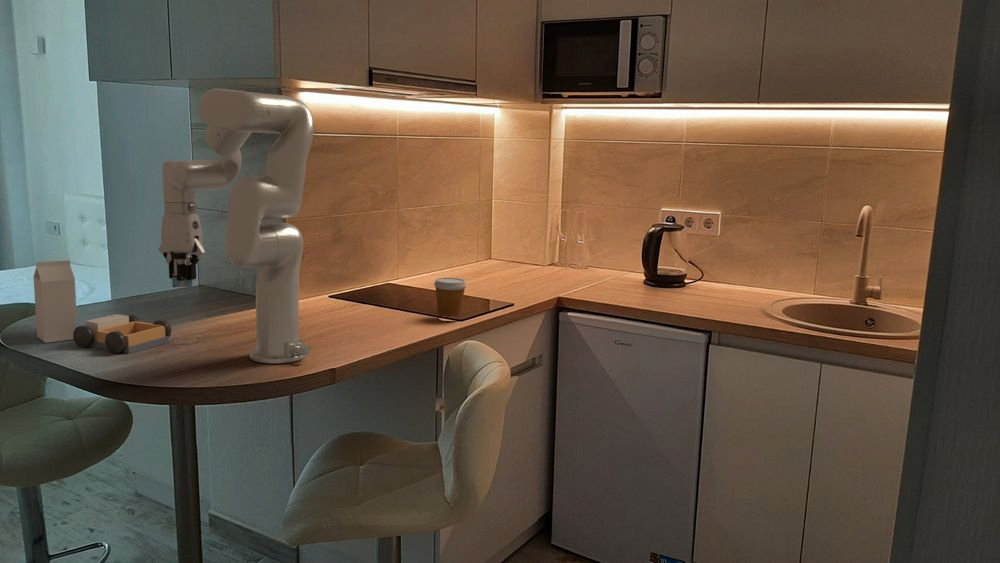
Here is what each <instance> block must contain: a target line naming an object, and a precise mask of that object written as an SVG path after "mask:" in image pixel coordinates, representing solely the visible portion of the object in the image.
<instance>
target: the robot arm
mask: <svg viewBox="0 0 1000 563" xmlns="http://www.w3.org/2000/svg"><path fill="white" fill-rule="evenodd" d="M198 113H199V116H200V118H201V120H202V122H203V123H204V124H206V125H207V127H206V129H205V131H204V139H205V142H206V144H207V145H208V147H209V148H210V149H211V150H212V151H214V152H215V153H216V154H218V155H220V157H219V158H218V159H217V160H189V159H188V160H187V159H186V160H185V159H184V160H166V161H164V162H163V164H162V167H161V169H162V188H163V189H162V190H163V211H164V212H163V215H162V219H161V228H160V229H161V234H160V235H161V236H160V238H161V240H160V241H161V244H160V245H159V246H158V251H159V252H160V254H162V255H163V257H164V258H165V260H166V261H165V262H166V264H168V278H169V279H171V280H172V276H173V274H174V259H171V254H170V252H173V253H174V249H178V251H179V252H180V253H185V254H186V255H185V258H186V261H185V263H186V262H187V265H186V264H185V277H186V280H197V265H198V264H199V261H200V260H201V258H202V257H204V256H205V255H206V251H205V249H204V238H203V230H202V222H201V219H200V216H199V214H197V211H198V209H199V208H198V206H197V205H196V192H199V191H200V192H201V191H221V190H224V189H226V188H228V187H229V185H231V184H232V182H233V181H234V180H235V179H236V177H237V176H238V175H239V173H240V172H241V168H242V161H243V160H242V159H243V158H242V153H241V150H240V149H241V147H243V145H244V144H245V142H246V141H247V140H248V139H249V137H251V135H252V133H255V134H256V133H260V134H278V135H279V137H278V138H277V139H276V140H275V141H274V142H273V143H272V145H271V147H270V149H269V151H268V152H267V156H266V165H265V171H264V174H263V175H249V176H248V175H247V176H244V177H242V178H240V179H238V180H237V181H236V182H235V183H234V185H233V187H232V188H231V191H230V196H229V201H228V212H227V213H228V214H227V223H226V234H225V251H226V255H227V258H228V260H229V261H230V264H233V265H234V266H235V267H238V268H244V269H245V268H247V269H248V268H257V267H259V268H260V267H261V269H260V271H259V272H258V275H257V277H256V284H255V321H256V322H255V324H256V326H255V331H256V332H255V334H256V335H255V337H256V338H255V340H256V341H255V342H256V343H255V345H256V347H255V348H252V349H251V350H250V351H249V359H250V360H251V361H254V362H257V363H262V364H287V363H288V364H289V363H293V362H296V361H300V360H302V359H303V358H305V357H307V356H309V355H310V353H311V350H312V346H311V344H310V345H309V344H304V343H303V337H299V336H300V335H299V324H300V322H299V321H300V320H299V317H300V316H299V314H300V312H299V308H300V306H299V305H300V304H299V303H300V301H299V298H300V297H299V291H300V290H299V289H300V284H299V283H300V269H301V262H302V257H303V256H302V255H303V252H304V246H305V245H304V244H305V243H304V237H303V235H302V232H301V231H300V230H299V228H298V227H296V226H295V225H293V224H291V223H288V222H282V221H281V222H279V221H278V222H263V223H262V220H274V219H275V220H276V219H278V220H279V219H287V218H288V219H289V218H292V217H294V216H296V215H298V213H299V212H300V209H301V207H302V201H303V194H304V186H305V180H306V178H305V177H306V170H307V160H308V156H309V152H310V150H311V145H312V143H313V139H314V138H313V137H314V132H315V124H314V117H313V114H312V111H311V110H310V108H309V107H308V106H307V104H306V103H304V102H303V101H302V100H300V99H298V98H296V97H294V96H293V97H292V96H287V95H282V94H281V95H280V94H274V93H273V94H271V93H262V92H252V91H245V90H238V89H228V88H219V87H215V88H211V89H209V90H207V91H206V92H204V94H203V95H202V97H201V99H200V101H199V104H198ZM190 255H191V257H190ZM177 264H178V261H177ZM177 268H178V266H177ZM176 276H177V275H176Z"/></svg>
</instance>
